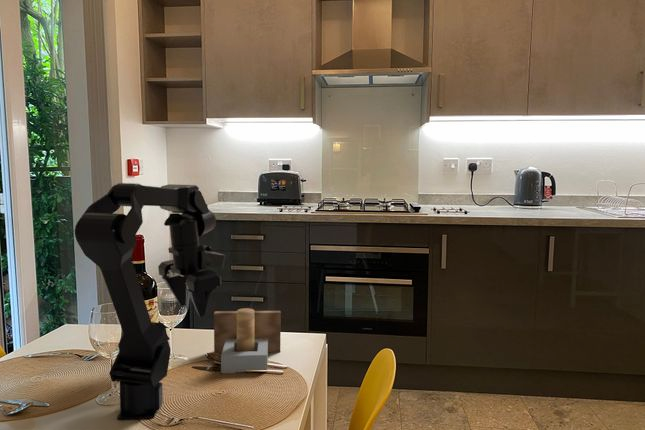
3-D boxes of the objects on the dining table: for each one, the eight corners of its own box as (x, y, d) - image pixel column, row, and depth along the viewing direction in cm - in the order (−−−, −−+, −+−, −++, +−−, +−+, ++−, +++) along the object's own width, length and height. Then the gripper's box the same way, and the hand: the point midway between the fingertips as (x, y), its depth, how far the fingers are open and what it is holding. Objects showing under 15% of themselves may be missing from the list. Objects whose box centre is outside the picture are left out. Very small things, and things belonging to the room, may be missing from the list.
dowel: (236, 367, 105) (235, 313, 104) (237, 360, 109) (237, 308, 108) (253, 367, 105) (253, 313, 104) (254, 359, 109) (254, 308, 108)
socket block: (221, 373, 102) (221, 355, 101) (226, 355, 112) (226, 339, 111) (266, 372, 103) (267, 355, 102) (267, 354, 113) (268, 338, 112)
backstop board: (214, 353, 113) (214, 313, 112) (215, 350, 114) (214, 311, 113) (280, 352, 114) (280, 312, 113) (280, 349, 116) (280, 310, 115)
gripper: (240, 241, 98) (245, 311, 101) (199, 230, 112) (205, 291, 115) (191, 252, 91) (199, 326, 94) (154, 239, 105) (161, 304, 108)
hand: (192, 310), depth 103 cm, fingers open, 9 cm apart
